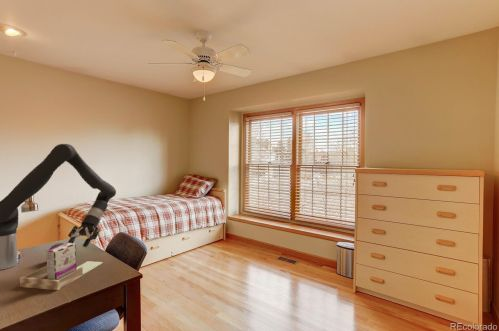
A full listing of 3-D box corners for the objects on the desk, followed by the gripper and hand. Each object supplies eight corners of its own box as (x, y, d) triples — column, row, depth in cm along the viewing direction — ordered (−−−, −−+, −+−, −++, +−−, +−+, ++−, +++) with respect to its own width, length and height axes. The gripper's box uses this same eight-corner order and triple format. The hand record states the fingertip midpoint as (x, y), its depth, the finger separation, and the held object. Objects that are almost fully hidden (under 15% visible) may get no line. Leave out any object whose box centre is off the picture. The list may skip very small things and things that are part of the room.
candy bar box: (68, 275, 127) (68, 242, 126) (77, 276, 126) (76, 243, 125) (46, 286, 116) (45, 250, 115) (55, 287, 115) (55, 251, 114)
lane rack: (20, 286, 115) (19, 278, 115) (48, 272, 129) (48, 264, 129) (58, 290, 113) (57, 281, 113) (82, 275, 127) (82, 267, 127)
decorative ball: (47, 266, 136) (46, 248, 136) (48, 260, 144) (47, 242, 144) (70, 262, 142) (70, 244, 141) (69, 256, 150) (69, 239, 149)
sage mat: (67, 273, 129) (67, 272, 129) (88, 261, 143) (88, 261, 143) (83, 274, 128) (83, 273, 128) (102, 262, 142) (102, 262, 142)
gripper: (77, 213, 138) (59, 241, 127) (101, 214, 136) (85, 243, 125) (84, 221, 144) (68, 248, 133) (108, 222, 142) (93, 250, 131)
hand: (76, 246), depth 129 cm, fingers open, 8 cm apart
